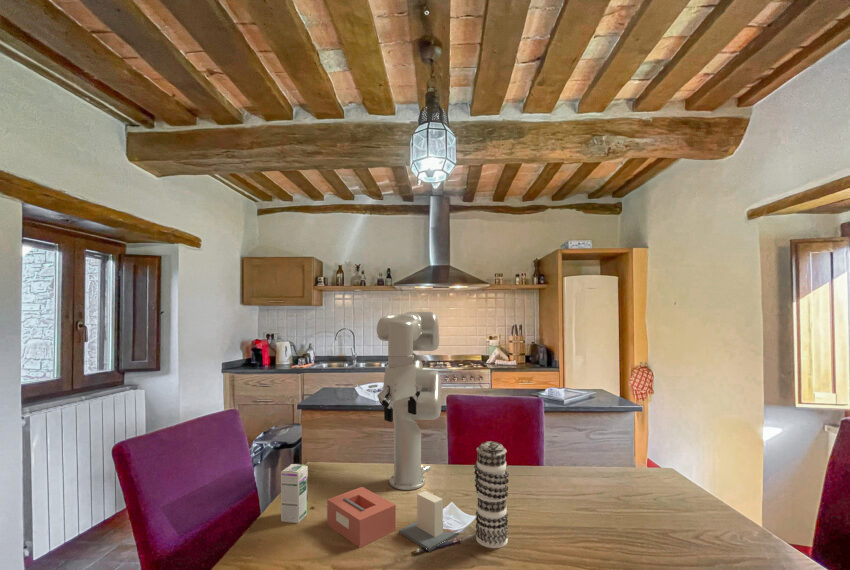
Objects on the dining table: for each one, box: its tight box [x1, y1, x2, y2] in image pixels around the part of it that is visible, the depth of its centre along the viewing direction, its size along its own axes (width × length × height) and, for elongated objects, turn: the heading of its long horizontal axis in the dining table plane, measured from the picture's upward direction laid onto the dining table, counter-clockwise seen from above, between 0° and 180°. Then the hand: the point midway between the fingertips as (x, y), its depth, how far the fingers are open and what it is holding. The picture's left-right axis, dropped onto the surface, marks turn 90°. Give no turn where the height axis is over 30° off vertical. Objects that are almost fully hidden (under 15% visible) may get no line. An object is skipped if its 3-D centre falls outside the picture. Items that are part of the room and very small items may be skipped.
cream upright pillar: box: [416, 490, 444, 537], centre depth 115 cm, size 3×7×9 cm, turn 43°
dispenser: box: [326, 486, 397, 549], centre depth 118 cm, size 12×16×7 cm
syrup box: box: [280, 463, 309, 524], centre depth 123 cm, size 6×6×14 cm
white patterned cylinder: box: [473, 440, 509, 549], centre depth 113 cm, size 9×9×25 cm
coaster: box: [398, 520, 460, 552], centre depth 115 cm, size 12×12×1 cm
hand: (400, 417), depth 127 cm, fingers open, 9 cm apart
